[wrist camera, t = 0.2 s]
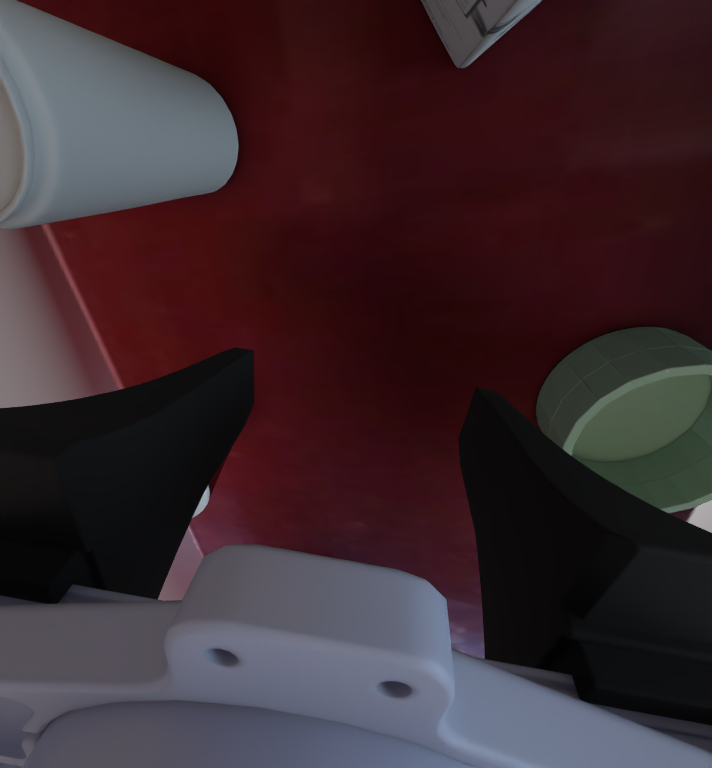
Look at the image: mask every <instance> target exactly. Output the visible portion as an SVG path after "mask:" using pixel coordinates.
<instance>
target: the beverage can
mask: <svg viewBox="0 0 712 768" xmlns="http://www.w3.org/2000/svg"><path fill="white" fill-rule="evenodd" d="M238 147H239V145H238V137H237V129H236V126H235V123H234V120H233V117H232V115H231V112H230V110H229V109H228V107H227V105H226V104H225V102H224V100H223V99H222V97H221V96H220V95H219V94H218V93H217V91H216V90H215V89H214V88H213V87H212V86H211V85H210V84H209V83H207V82H206V81H204V80H203V79H201V78H200V77H198V76H197V75H195V74H193V73H190V72H188V71H185V70H183V69H180V68H178V67H176V66H173V65H171V64H168V63H166V62H164V61H161V60H159V59H156V58H154V57H152V56H149V55H147V54H144V53H142V52H140V51H137V50H135V49H132V48H130V47H127V46H125V45H123V44H120V43H118V42H115V41H113V40H111V39H108V38H106V37H103V36H101V35H99V34H96V33H94V32H91V31H89V30H86V29H84V28H82V27H79V26H77V25H74V24H72V23H70V22H67V21H65V20H62V19H60V18H58V17H55V16H53V15H50V14H48V13H46V12H43V11H41V10H38V9H36V8H33V7H31V6H29V5H26V4H24V3H21V2H19V1H17V0H0V228H2V229H16V228H23V227H28V226H34V225H40V224H46V223H51V222H57V221H62V220H68V219H74V218H79V217H85V216H91V215H96V214H102V213H107V212H113V211H118V210H124V209H129V208H135V207H140V206H145V205H150V204H154V203H159V202H164V201H169V200H174V199H179V198H184V197H190V196H195V195H201V194H206V193H211V192H215V191H217V190H218V189H219V188H221V187H222V186H224V185H225V184H226V182H227V181H228V180H229V178H230V177H231V175H232V174H233V171H234V168H235V165H236V163H237V157H238Z"/></svg>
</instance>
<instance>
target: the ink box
mask: <svg viewBox="0 0 712 768" xmlns="http://www.w3.org/2000/svg"><path fill="white" fill-rule="evenodd" d="M421 1H422V4H423V6H424V8H425V10H426V12H427V14H428V16H429V18H430V19H431V21H432V23H433V25H434V27H435V29H436V31H437V33H438V35H439V37H440V39H441V40H442V42H443V44H444V46H445V48H446V49H447V51H448V53H449V55H450V57H451V58H452V60H453V62H454V64H455V65H456V67H457V68H465V67H467V66H468V65H470V64H471V63H472V62H473V61H474V60H475V59H476V58H478V57H479V56H480V55H481V54H482V53H483V52H484V51H485V50H487V49H488V48H489V47H490V46H491V45H492V44H493V43H495V42H496V41H497V40H498V39H499V38H500V37H501V36H502V35H504V34H505V33H506V32H507V31H508V30H509V29H511V28H512V27H513V26H514V25H515V24H516V23H517V22H518V21H520V20H521V19H522V18H523V17H524V16H525V15H527V14H528V13H529V12H530V11H531V10H532V9H533V8H534V7H535V6H537V5H538V4H539V3H540V2H541V1H542V0H421Z"/></svg>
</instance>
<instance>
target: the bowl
mask: <svg viewBox="0 0 712 768" xmlns="http://www.w3.org/2000/svg"><path fill="white" fill-rule="evenodd" d="M536 418H537V423H538V426H539V429H540V431H541V432H542V433H543V434H545V435H546V436H547V437H548V438H549V439H551V440H552V441H553V442H554V443H556V444H557V445H558V446H559V447H561V448H562V449H563V450H564V451H566V452H567V453H568V454H570V455H571V456H572V457H574V458H575V459H577V460H578V461H580V462H581V463H582V464H584V465H585V466H587V467H588V468H590V469H591V470H593V471H594V472H596V473H597V474H599V475H600V476H602V477H603V478H605V479H607V480H608V481H610V482H612V483H613V484H615V485H617V486H619V487H620V488H622V489H624V490H625V491H627V492H629V493H630V494H632V495H634V496H636V497H638V498H640V499H641V500H643V501H645V502H647V503H649V504H651V505H653V506H655V507H657V508H659V509H661V510H663V511H665V512H667V513H672V512H676V511H681V510H685V509H690V508H692V507H696V506H698V505H701V504H703V503H705V502H707V501H710V500H712V350H711V349H709V348H707V347H706V346H704V345H702V344H700V343H699V342H697V341H695V340H693V339H692V338H690V337H688V336H687V335H685V334H682V333H680V332H677V331H674V330H670V329H666V328H658V327H636V328H628V329H623V330H619V331H614V332H611V333H608V334H605V335H602V336H600V337H598V338H595V339H593V340H591V341H589V342H587V343H585V344H584V345H582V346H580V347H578V348H577V349H576V350H574V351H573V352H571V353H570V354H569V355H567V356H566V357H565V358H564V359H563V360H562V361H561V362H559V364H558V365H557V366H556V367H555V368H554V369H553V370H552V371H551V373H550V374H549V376H548V377H547V378H546V380H545V382H544V384H543V386H542V387H541V390H540V393H539V395H538V399H537V404H536Z"/></svg>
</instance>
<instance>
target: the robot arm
mask: <svg viewBox="0 0 712 768" xmlns="http://www.w3.org/2000/svg"><path fill="white" fill-rule="evenodd" d="M253 405H254V351H253V350H247V349H241V348H232V349H229V350H226V351H224V352H221V353H219V354H217V355H214V356H212V357H210V358H208V359H205V360H203V361H201V362H198V363H196V364H194V365H191V366H189V367H187V368H184V369H181V370H179V371H176V372H174V373H171V374H168V375H166V376H163V377H160V378H158V379H155V380H152V381H149V382H146V383H142V384H139V385H136V386H132V387H129V388H125V389H121V390H117V391H113V392H109V393H103V394H99V395H95V396H90V397H85V398H80V399H74V400H68V401H62V402H55V403H48V404H40V405H32V406H24V407H12V408H0V768H712V533H710V532H708V531H706V530H703V529H701V528H699V527H696V526H694V525H692V524H689V523H688V522H685V521H683V520H681V519H679V518H677V517H675V516H673V515H671V514H669V513H667V512H665V511H663V510H661V509H659V508H657V507H655V506H653V505H651V504H649V503H647V502H645V501H643V500H641V499H640V498H638V497H636V496H634V495H632V494H630V493H629V492H627V491H625V490H624V489H622V488H620V487H619V486H617V485H615V484H613V483H612V482H610V481H608V480H607V479H605V478H603V477H602V476H600V475H599V474H597V473H596V472H594V471H593V470H591V469H590V468H588V467H587V466H585V465H584V464H582V463H581V462H580V461H578V460H577V459H575V458H574V457H572V456H571V455H570V454H568V453H567V452H566V451H564V450H563V449H562V448H561V447H559V446H558V445H557V444H556V443H554V442H553V441H552V440H551V439H549V438H548V437H547V436H546V435H545V434H543V433H542V432H541V431H540V430H539V429H538V428H537V427H535V426H534V425H533V424H532V423H531V422H530V421H529V420H528V419H527V418H525V417H524V416H523V415H522V414H521V413H520V412H519V411H518V410H517V409H516V408H515V407H513V406H512V405H511V404H510V403H509V402H508V401H507V400H506V399H505V398H503V397H502V396H501V395H500V394H499V393H497V392H496V391H492V390H486V389H480V388H476V390H475V393H474V396H473V399H472V401H471V404H470V407H469V410H468V413H467V416H466V418H465V421H464V424H463V427H462V430H461V433H460V436H459V454H460V465H461V470H462V475H463V480H464V484H465V489H466V493H467V498H468V502H469V506H470V511H471V515H472V520H473V524H474V530H475V535H476V543H477V552H478V561H479V571H480V583H481V595H482V609H483V626H484V644H485V659H481V658H476V657H472V656H470V655H467V654H465V653H462V652H460V651H457V650H455V649H452V648H451V641H450V631H449V621H448V612H447V602H446V599H445V598H444V597H443V596H442V595H441V594H440V593H439V592H438V591H437V590H436V589H435V588H434V587H433V586H432V585H431V584H430V583H429V582H428V581H426V580H425V579H423V578H420V577H418V576H415V575H412V574H409V573H407V572H404V571H401V570H398V569H394V568H388V567H382V566H377V565H371V564H365V563H360V562H354V561H349V560H343V559H337V558H332V557H326V556H320V555H315V554H309V553H304V552H298V551H292V550H287V549H281V548H275V547H270V546H264V545H241V544H231V545H227V546H224V547H222V548H220V549H218V550H216V551H214V552H212V553H210V554H208V555H206V556H204V558H203V560H202V562H201V564H200V566H199V568H198V570H197V572H196V574H195V576H194V578H193V580H192V582H191V584H190V586H189V588H188V590H187V592H186V594H185V596H184V598H183V600H177V601H162V600H158V597H159V594H160V592H161V589H162V587H163V584H164V582H165V579H166V577H167V575H168V572H169V570H170V567H171V565H172V563H173V560H174V558H175V555H176V553H177V551H178V548H179V546H180V544H181V542H182V539H183V537H184V535H185V533H186V530H187V528H188V526H189V524H190V522H191V519H192V517H193V515H194V513H195V511H196V509H197V507H198V505H199V502H200V500H201V498H202V496H203V494H204V492H205V490H206V488H207V487H208V485H209V483H210V481H211V479H212V478H213V476H214V475H215V473H216V471H217V470H218V468H219V467H220V465H221V463H222V462H223V460H224V459H225V457H226V455H227V454H228V452H229V451H230V449H231V447H232V446H233V444H234V443H235V441H236V439H237V438H238V436H239V434H240V433H241V431H242V429H243V428H244V426H245V423H246V421H247V419H248V417H249V414H250V412H251V409H252V407H253Z"/></svg>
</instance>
